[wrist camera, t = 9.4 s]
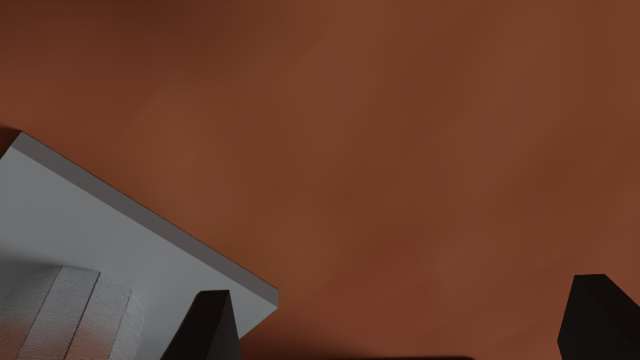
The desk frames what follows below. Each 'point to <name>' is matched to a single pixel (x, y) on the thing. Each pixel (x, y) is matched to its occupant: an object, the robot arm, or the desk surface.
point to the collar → (71, 317)
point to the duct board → (112, 244)
